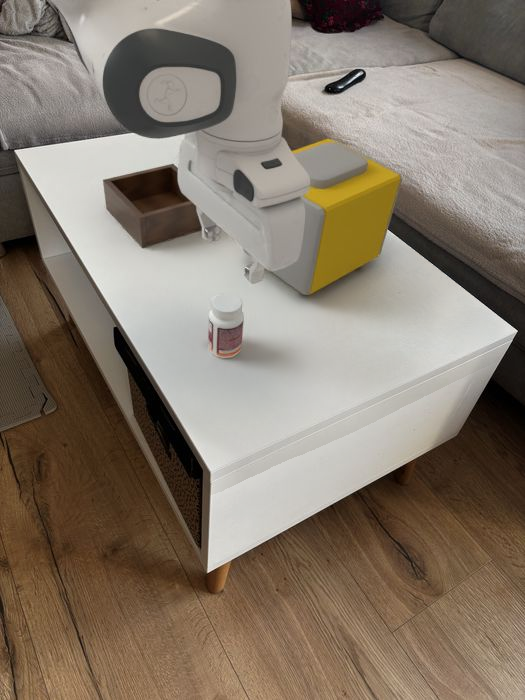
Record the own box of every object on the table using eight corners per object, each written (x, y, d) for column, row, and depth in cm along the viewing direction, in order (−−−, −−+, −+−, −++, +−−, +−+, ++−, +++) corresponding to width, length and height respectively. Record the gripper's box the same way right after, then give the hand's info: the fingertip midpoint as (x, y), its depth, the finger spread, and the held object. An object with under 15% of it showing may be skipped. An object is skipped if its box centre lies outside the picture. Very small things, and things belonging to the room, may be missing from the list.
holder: (142, 248, 92) (139, 218, 88) (106, 208, 100) (102, 179, 96) (212, 226, 99) (213, 198, 95) (173, 191, 106) (173, 163, 102)
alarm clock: (314, 223, 103) (332, 126, 90) (380, 264, 96) (409, 164, 83) (236, 259, 93) (243, 155, 80) (302, 308, 85) (322, 202, 72)
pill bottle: (247, 344, 78) (252, 300, 72) (228, 364, 75) (232, 319, 69) (220, 330, 80) (222, 285, 74) (200, 349, 77) (201, 303, 71)
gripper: (162, 117, 61) (166, 224, 71) (270, 202, 50) (258, 314, 60) (210, 108, 64) (208, 212, 74) (322, 186, 53) (302, 296, 63)
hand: (231, 258), depth 67 cm, fingers open, 8 cm apart
